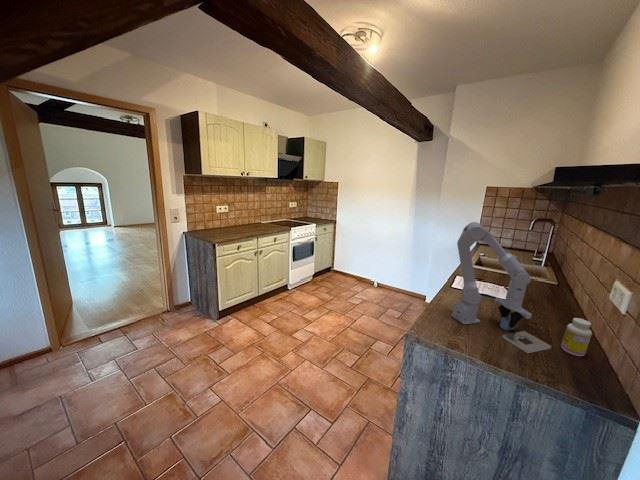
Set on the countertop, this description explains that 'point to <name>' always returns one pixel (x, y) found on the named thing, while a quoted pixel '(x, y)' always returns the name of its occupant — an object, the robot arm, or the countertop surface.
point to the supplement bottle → (577, 337)
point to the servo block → (506, 323)
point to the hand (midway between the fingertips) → (507, 324)
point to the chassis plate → (529, 348)
